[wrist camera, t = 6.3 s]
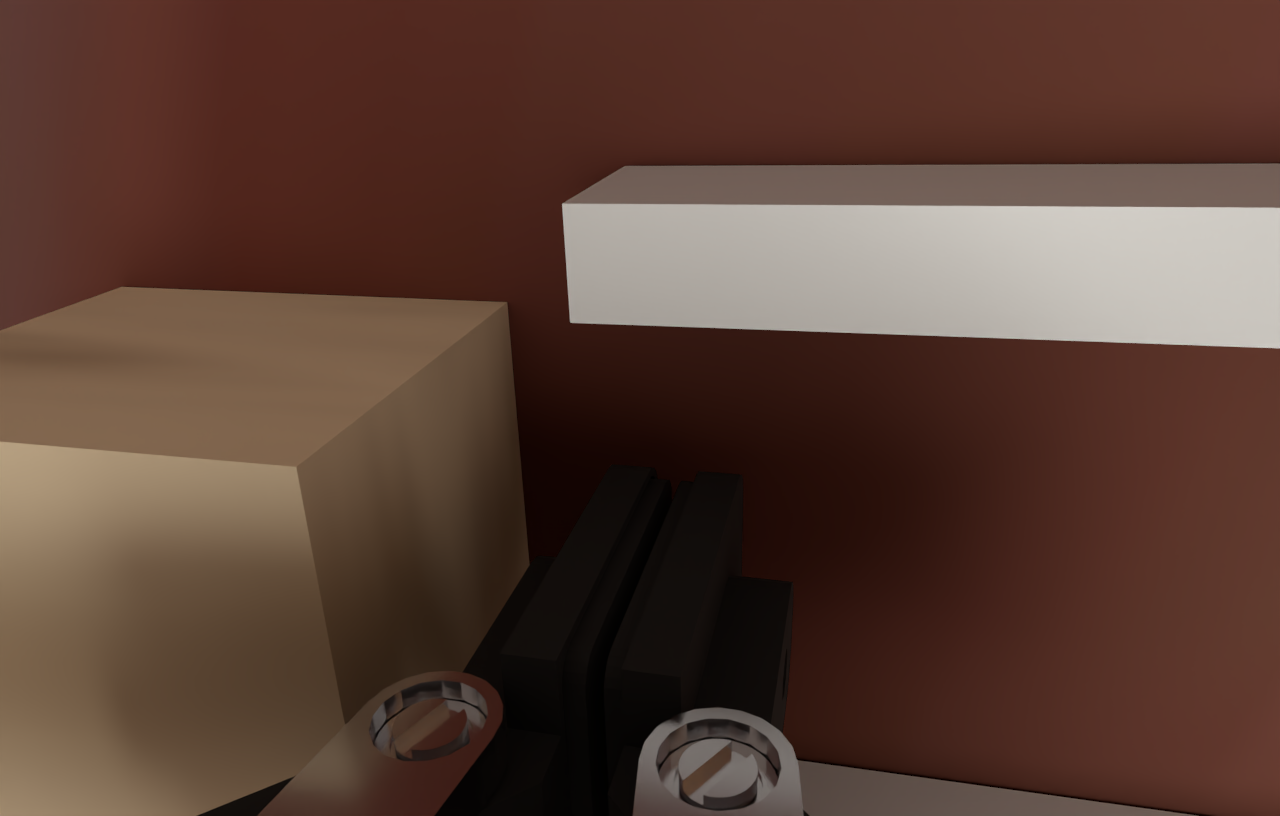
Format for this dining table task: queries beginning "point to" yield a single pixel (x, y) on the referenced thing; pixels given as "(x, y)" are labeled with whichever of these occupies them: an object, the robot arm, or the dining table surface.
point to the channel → (935, 296)
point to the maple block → (239, 532)
